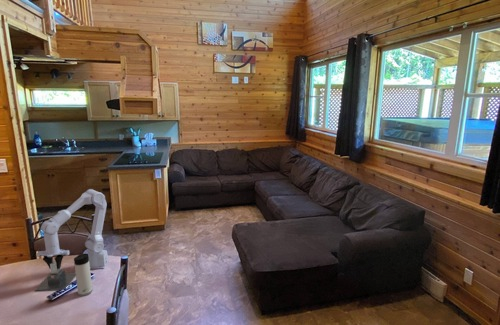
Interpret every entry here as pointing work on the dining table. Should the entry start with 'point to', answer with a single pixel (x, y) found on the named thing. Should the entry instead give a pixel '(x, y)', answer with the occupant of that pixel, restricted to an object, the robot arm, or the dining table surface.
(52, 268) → the column
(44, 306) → the dining table surface
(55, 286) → the stand base
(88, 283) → the travel mug
